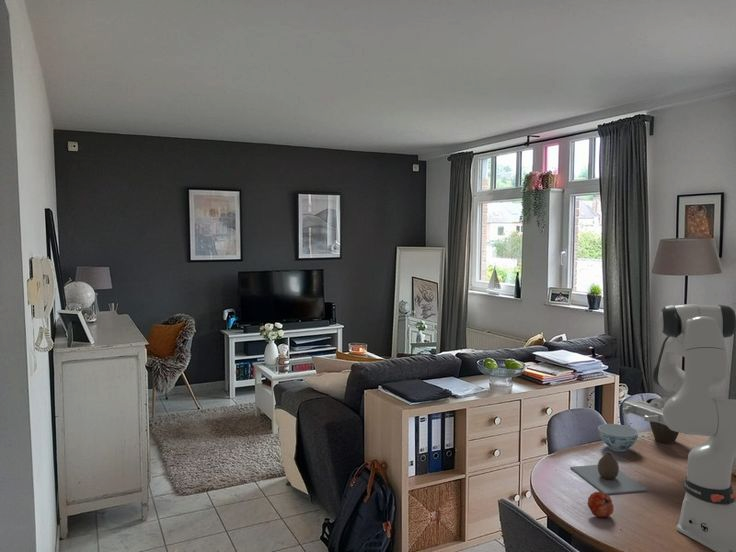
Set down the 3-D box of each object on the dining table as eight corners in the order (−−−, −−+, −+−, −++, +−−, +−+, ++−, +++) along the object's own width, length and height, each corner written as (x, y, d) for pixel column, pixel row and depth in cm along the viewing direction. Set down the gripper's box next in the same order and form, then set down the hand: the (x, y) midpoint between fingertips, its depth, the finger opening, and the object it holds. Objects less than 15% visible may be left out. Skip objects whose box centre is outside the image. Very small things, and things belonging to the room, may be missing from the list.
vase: (614, 483, 201) (615, 459, 201) (594, 478, 206) (595, 453, 205) (621, 477, 207) (622, 453, 206) (601, 472, 211) (602, 448, 210)
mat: (647, 491, 197) (648, 489, 197) (604, 494, 194) (604, 493, 194) (609, 465, 219) (609, 463, 219) (570, 468, 216) (570, 466, 216)
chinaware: (632, 443, 242) (632, 425, 241) (642, 457, 227) (643, 437, 226) (594, 440, 244) (594, 422, 244) (601, 454, 230) (602, 435, 229)
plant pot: (654, 446, 238) (655, 408, 237) (638, 434, 253) (640, 397, 251) (691, 447, 237) (693, 408, 236) (673, 434, 252) (675, 398, 251)
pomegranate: (583, 520, 182) (598, 513, 174) (579, 495, 186) (593, 487, 178) (605, 521, 183) (621, 514, 174) (601, 497, 187) (616, 489, 178)
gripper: (638, 394, 224) (612, 398, 219) (687, 409, 206) (659, 414, 200) (638, 410, 225) (611, 415, 219) (686, 426, 206) (658, 432, 201)
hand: (634, 415), depth 210 cm, fingers open, 8 cm apart
